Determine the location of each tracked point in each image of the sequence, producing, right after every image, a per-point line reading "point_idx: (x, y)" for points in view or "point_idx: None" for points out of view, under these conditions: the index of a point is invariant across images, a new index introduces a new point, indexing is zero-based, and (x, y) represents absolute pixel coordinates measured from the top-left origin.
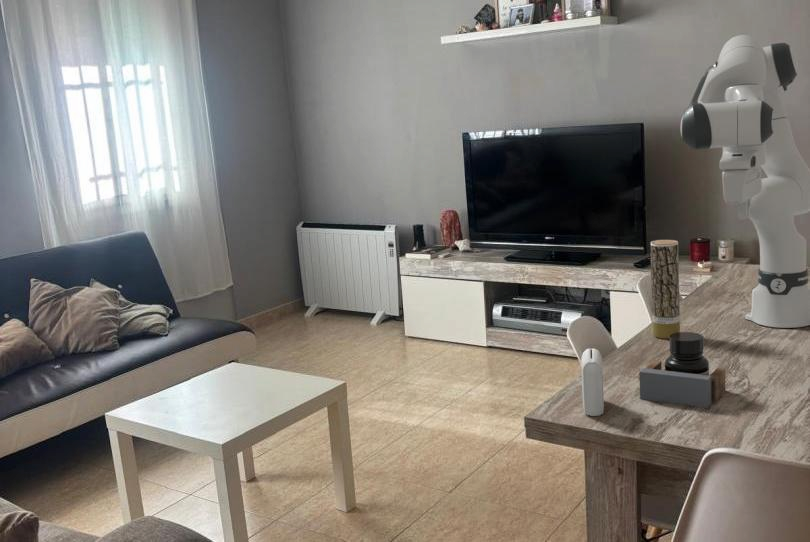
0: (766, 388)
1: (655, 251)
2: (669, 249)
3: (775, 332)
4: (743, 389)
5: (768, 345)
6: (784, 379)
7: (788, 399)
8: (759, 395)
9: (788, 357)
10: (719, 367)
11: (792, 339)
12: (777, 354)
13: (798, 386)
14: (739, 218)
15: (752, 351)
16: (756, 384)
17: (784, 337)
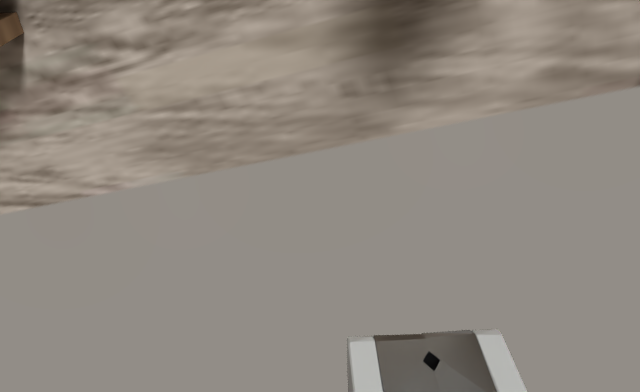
0: (105, 118)
1: None
2: None
3: (616, 16)
4: (62, 72)
5: (468, 32)
6: (191, 137)
7: (66, 173)
8: (48, 116)
9: (368, 107)
10: None
11: (542, 79)
12: (386, 76)
13: (160, 172)
14: (350, 344)
15: (395, 4)
16: (118, 90)
17: (561, 54)
